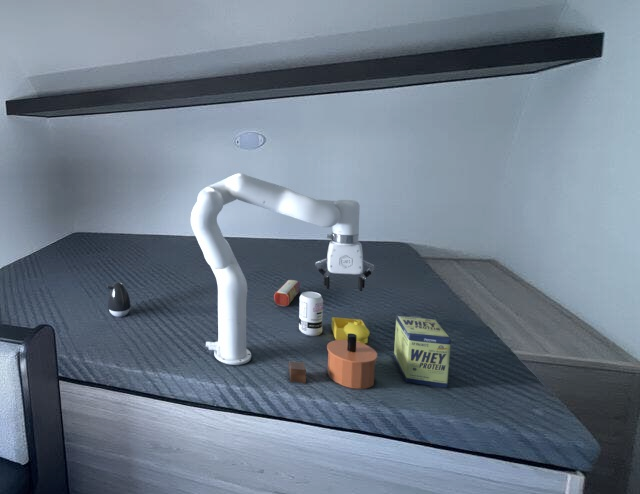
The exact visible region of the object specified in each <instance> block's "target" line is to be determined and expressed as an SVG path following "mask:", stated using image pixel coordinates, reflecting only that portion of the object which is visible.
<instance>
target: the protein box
mask: <svg viewBox="0 0 640 494" xmlns="http://www.w3.org/2000/svg"><path fill="white" fill-rule="evenodd" d="M451 343H452V339H451V337H450V336H449V335H448V334H447V333H446V331H445V330H444V329H443V327H442V326H441V325H440V324H439V322H438V321H437V320H436V319H435V318H434V317H426V316H415V315H406V314H396V315H395V331H394V350H393V358H394V360H395V362H396V364H397V366H398V368H399V370H400V372H401V375H402V376H403V379H404V380H405V382H406V383H411V384H417V385H425V386H433V387H438V388H445V389H447V388H448V381H449V368H450V358H451V357H450V356H451V345H452V344H451Z"/></svg>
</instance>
